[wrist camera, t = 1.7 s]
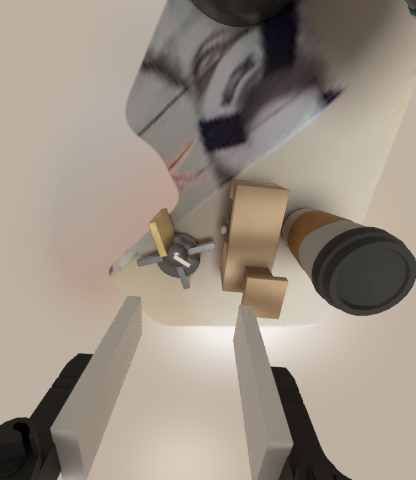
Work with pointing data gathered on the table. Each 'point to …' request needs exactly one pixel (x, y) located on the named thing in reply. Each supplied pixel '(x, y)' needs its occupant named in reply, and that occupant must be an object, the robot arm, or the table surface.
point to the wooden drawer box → (254, 245)
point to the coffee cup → (350, 261)
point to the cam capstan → (174, 249)
